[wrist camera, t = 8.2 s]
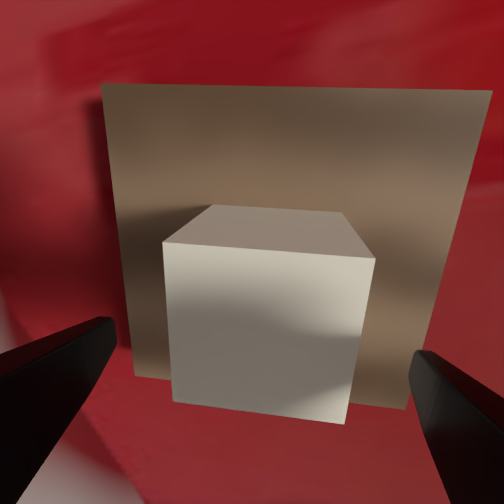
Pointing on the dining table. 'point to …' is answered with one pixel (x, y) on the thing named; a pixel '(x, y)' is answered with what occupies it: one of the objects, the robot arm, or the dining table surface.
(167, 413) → the dining table surface
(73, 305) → the dining table surface
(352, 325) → the cream cube
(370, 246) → the walnut base
